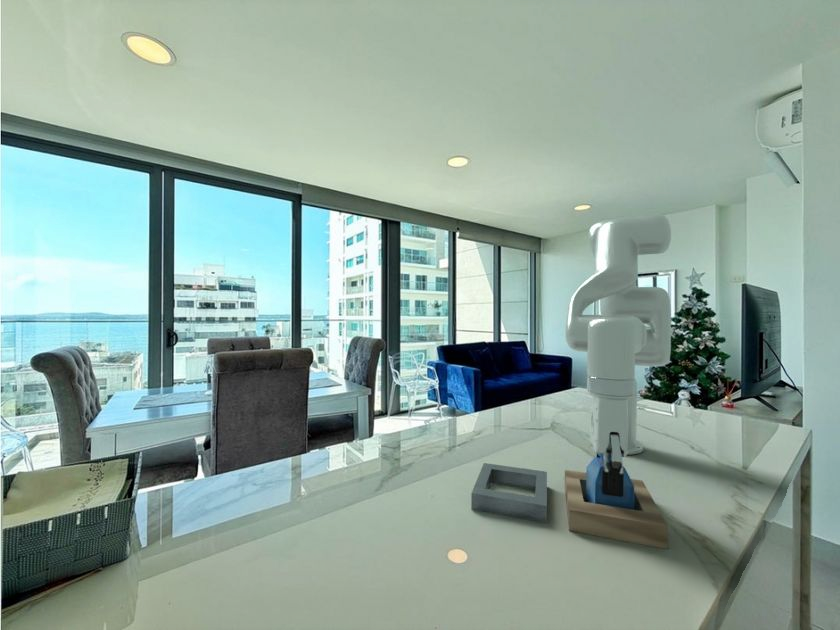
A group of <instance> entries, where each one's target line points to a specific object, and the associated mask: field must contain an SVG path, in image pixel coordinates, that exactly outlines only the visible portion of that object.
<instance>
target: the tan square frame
mask: <svg viewBox="0 0 840 630" xmlns="http://www.w3.org/2000/svg"><path fill="white" fill-rule="evenodd" d="M630 479H631V481H632V483H633V485H634V510H632V509H626V508H619V507H613V506H607V505H601V504H594V503H588V502H587V501H584V499H586V472H583V471H576V470H569V469H565V470H564V494H565V502H566V513H567V514H566V515H567V525H568V531H570V532H575V533H580V534H585V535H591V536H596V537H602V538H606V539H613V540H619V541H623V542H627V543H634V544H640V545H644V546H650V547H655V548H660V549H667V550H668V547H669V543H668V542H669V525H668V524H667V521H666V520H665V518H664V517H663V514H662V513H661V511H660V510H659V507H658V506H657V504H656V502H655V500H654V499H653V497H652V495H651V493H650V492H649V490H648V488H647V486H646V484H645V482H644V481H643V480H641V479H635V478H630ZM583 497H584V498H583Z"/></svg>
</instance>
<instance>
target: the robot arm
mask: <svg viewBox="0 0 840 630" xmlns="http://www.w3.org/2000/svg"><path fill="white" fill-rule="evenodd" d="M671 240H672V229H671V224H670V221H669V219H668V218H667V217H666V216H665V215H663V214H654V215H643V216H635V217H633V216H632V217H624V218H623V217H622V218H621V217H620V218H612V219H607V220H601V221H598V222H596V223H594V224H592V226H591V227H590V228H589V230H588V241H589V246H590V249H591V252H592V254H593V257H594V263H593V264H594V265H593V273H592V275H591V276H589V277H588V278H587V279H586V280H585V281H583V282H582V283H581V284H580V285H579V287H577V288H576V290H575V291H574V293H573V295H572V296H571V298H570V299H569V303H568V306H567V314H566V323H565V340H566V344H567V345H568V347H569V348H570V349H571V350H573V351H575V352H576V351H577V352H584V353H587V354H586V355H587V357H586V358H587V360H586V361H587V367H586V371H587V372H586V373H587V375H586V376H587V377H586V380H587V381H586V383H587V384H586V393H587V394H588V395H590V396H592V397H591V409H590V414H591V415H590V431H589V433H590V434H589V436H590V437H589V443H590V445H591V446H592V448H593V450H594V453H595V454H596V458H600V456H599V454H600V453H603V457H604V470H602V493H603V494H605V495H611V496H618V497H622V496H623V480H624V474H623V466H624V464H623V463H624V462H623V458H625V457H626V456H628V455H638V454H641V453H643V451H644V446H643V444H642V442H640V441H638V440H637V428H638V426H637V425H638V424H637V417H638V414H637V412H638V411H637V410H638V408H637V407H638V406H637V405H638V384H637V380H636V377H635V374H636V373H635V368H636V367H635V366H644V367H663V366H666V365H667V364H668V363H669V361H670V357H671V349H672V347H671V346H672V342H671V341H672V334H671V333H672V327H671V326H672V324H671V323H672V320H671V319H672V318H671V317H672V316H671V315H672V314H671V313H672V311H671V310H672V309H671V307H672V306H671V298H670V295H669V293H668V292H667V290H665V288H662V287H660V286H659V287H658V286H637V280H638V277H639V268H638V267H639V266H638V265H639V263H638V262H639V259H638V258H639V257H638V256H643V255H659V254H664V253H666V251H667V250H669V247H670V245H671ZM597 301H599V308H600V310H599V311H600V314H583V313H584V311H585V310H586V309H587V308H588V307H590V305H591V304H594V303H595V302H597ZM646 325H648V326H649V328H647V326H646ZM606 450H611V453H606ZM608 457H611V460H609V462H608Z"/></svg>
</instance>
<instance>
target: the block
mask: <svg viewBox="0 0 840 630" xmlns="http://www.w3.org/2000/svg"><path fill="white" fill-rule="evenodd" d="M492 484H495V485H502V486H508V487H514V488H519V489H521V488H522V489H525V490H527V489H528V490H532V491H535V492H534V493H535V494H534V495H533V496H532V495H527V494H521V493H515V492H509V491H501V490H496V489H490V488H491V486H492ZM470 501H471V507H470V509H471V510H473V511H478V512H484V513H490V514H493V515H494V514H496V515H501V516H505V517H510V518H511V517H512V518H516V519H521V520H528V521H533V522H538V523H544V524H547V523H548V516H547V515H548V512H547V511H548V472H547V471H546V470H545V471H544V470H536V469H530V468H523V467H516V466H507V465H501V464H494V463H487V462H484V463H483V464H482V467H481V469H480V472H479V475H478V476H477V479H476V480H475V483H474V486H473V488H472V490H471V500H470Z"/></svg>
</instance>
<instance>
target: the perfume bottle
mask: <svg viewBox="0 0 840 630" xmlns="http://www.w3.org/2000/svg"><path fill="white" fill-rule="evenodd" d="M606 453H611V450H606ZM599 456H600V458H597V456H596V457H593V459H592V460H591V461H590V462H589V464H588V465H587V466H586V472H585V473H586V498H585V500H586V502H588V503H594V504H601V505H607V506H613V507H619V508H626V509H632V510H634V485H633V483H632V481H631V479H632V478H631V477H630V475H629V474H628V471H627V469H626V468H625V466H624V465H623V474H624V480H623V496H622V497H618V496H611V495H605V494H603V493H602V470H604V457H603V453H600V454H599ZM609 460H611V457H608V462H609Z"/></svg>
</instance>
